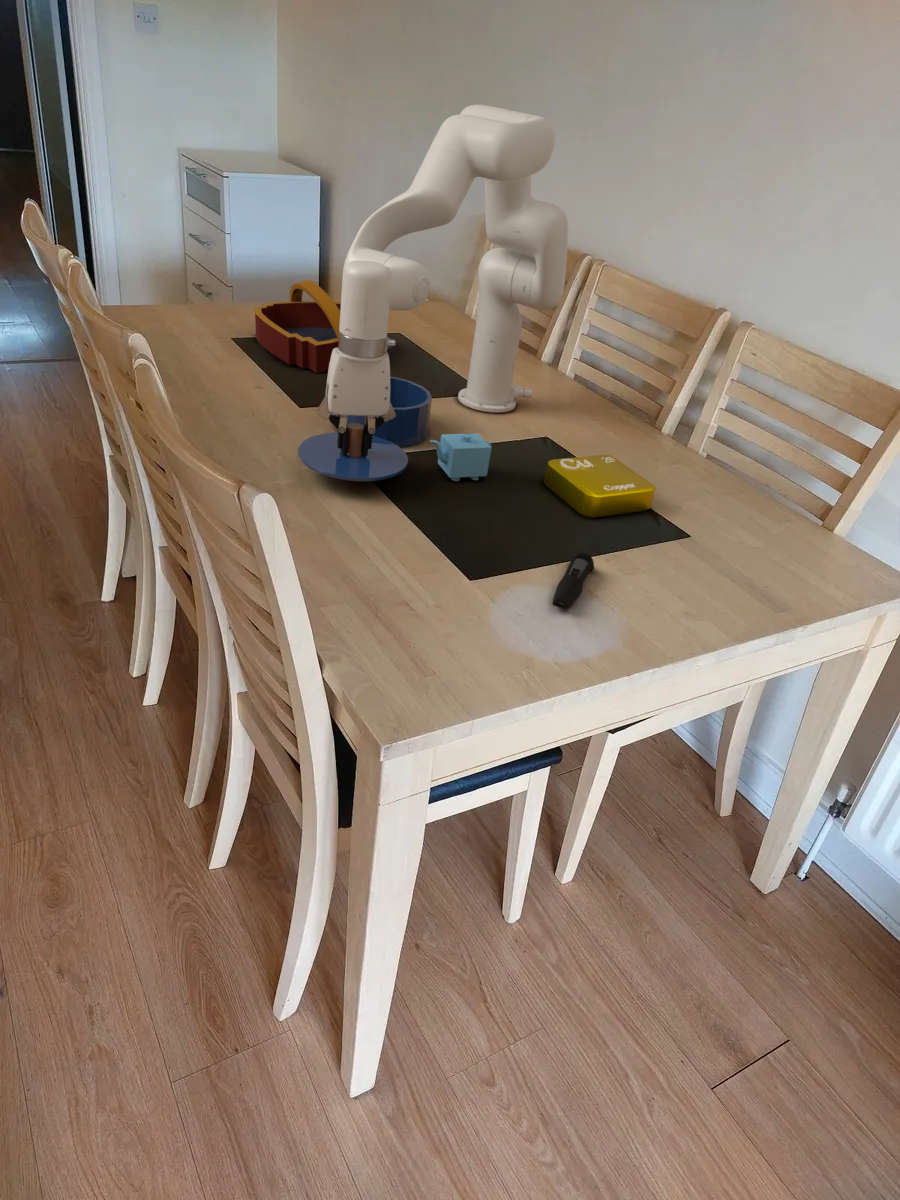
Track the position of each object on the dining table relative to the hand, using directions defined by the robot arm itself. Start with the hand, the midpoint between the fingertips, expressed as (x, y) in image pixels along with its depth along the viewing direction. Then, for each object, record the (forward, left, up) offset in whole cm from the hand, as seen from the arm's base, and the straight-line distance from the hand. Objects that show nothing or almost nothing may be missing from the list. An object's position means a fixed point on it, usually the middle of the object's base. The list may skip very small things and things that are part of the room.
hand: (353, 451), depth 147 cm
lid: (0, 0, -1) cm, 1 cm away
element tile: (-43, +7, -5) cm, 44 cm away
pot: (-9, -21, -4) cm, 23 cm away
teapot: (-19, -1, -5) cm, 20 cm away
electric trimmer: (-27, +37, -5) cm, 46 cm away
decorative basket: (-2, -68, -5) cm, 68 cm away
